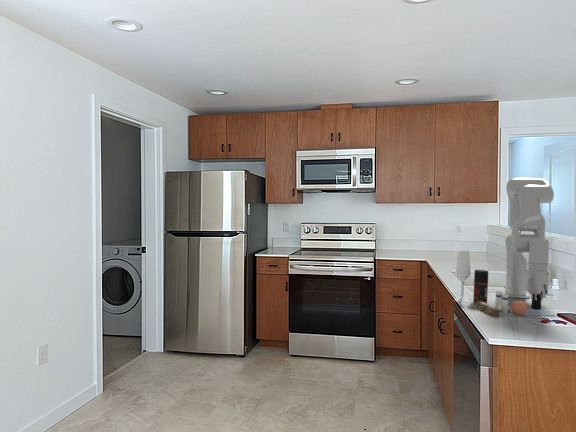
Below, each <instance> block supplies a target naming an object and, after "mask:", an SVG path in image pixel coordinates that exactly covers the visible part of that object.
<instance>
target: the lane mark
mask: <svg viewBox="0 0 576 432" xmlns="http://www.w3.org/2000/svg"><path fill="white" fill-rule="evenodd" d="M499 316H521V317H522V316H523V317H524V316H527V317H528V316H532V317H533V316H535V317H536V316H537V317H538V316H539V317H555V316H556V315H555V314H553V313H550V312H548V311H545V310H543V309H540V310H534V309H532V308H527V312H526V313H525V314H523V315H517V314H515V313H514V312H513V311H512V309H511V312H508V314H503V313H501V312H499Z"/></svg>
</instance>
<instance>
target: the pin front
mask: <svg viewBox="0 0 576 432" xmlns="http://www.w3.org/2000/svg"><path fill="white" fill-rule="evenodd" d="M492 306H493V307H495V308H497V309H499V312H501V308H502V306H496V305H492ZM508 312H511V306H508Z"/></svg>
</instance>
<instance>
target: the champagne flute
mask: <svg viewBox="0 0 576 432" xmlns="http://www.w3.org/2000/svg"><path fill="white" fill-rule="evenodd" d="M457 252H458V253H457V258H456V266H455V275H456V277H457V278H458V279H459V280H460V281H461V284H460V296H459V297H457V298H455V299H454V301H456V302H461V303H469V302H470V300H469V299H467V298H466V297H465V296H464V293H465V292H464V289H465V281H466V280H467V279H469V277H470V276H471V259H470V258H471V257H470V250H468V249H467V250H465V249H458V251H457Z"/></svg>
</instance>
